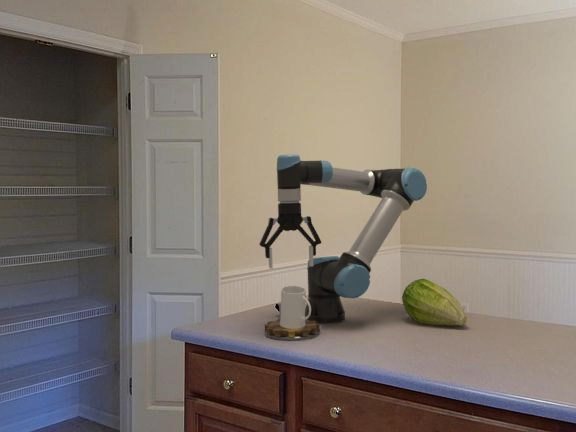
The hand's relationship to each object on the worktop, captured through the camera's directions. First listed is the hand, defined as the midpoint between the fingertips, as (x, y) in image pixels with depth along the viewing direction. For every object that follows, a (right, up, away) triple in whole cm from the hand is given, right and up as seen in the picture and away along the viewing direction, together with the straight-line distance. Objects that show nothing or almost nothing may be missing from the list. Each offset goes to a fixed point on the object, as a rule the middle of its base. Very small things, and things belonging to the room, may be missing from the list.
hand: (291, 267), depth 193 cm
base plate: (0, -23, +4) cm, 23 cm away
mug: (+2, -20, 0) cm, 20 cm away
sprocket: (0, -22, +4) cm, 22 cm away
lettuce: (+51, -21, +14) cm, 56 cm away
